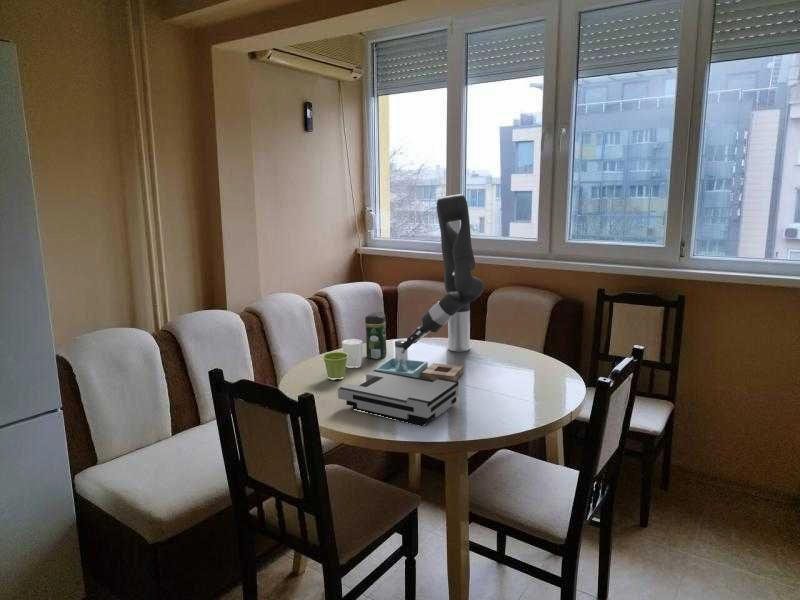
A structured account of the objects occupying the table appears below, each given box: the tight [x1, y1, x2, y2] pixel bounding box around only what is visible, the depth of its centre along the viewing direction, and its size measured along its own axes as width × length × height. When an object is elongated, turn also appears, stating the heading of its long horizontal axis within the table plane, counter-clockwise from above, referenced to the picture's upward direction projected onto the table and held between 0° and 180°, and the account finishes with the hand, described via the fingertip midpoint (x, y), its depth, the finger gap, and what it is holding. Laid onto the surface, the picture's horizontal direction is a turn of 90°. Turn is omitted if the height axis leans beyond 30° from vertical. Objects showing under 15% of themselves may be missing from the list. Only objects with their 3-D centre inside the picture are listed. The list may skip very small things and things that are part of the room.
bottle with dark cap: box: [394, 339, 409, 372], centre depth 203 cm, size 5×5×12 cm
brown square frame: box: [421, 362, 464, 381], centre depth 203 cm, size 12×12×2 cm
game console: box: [337, 370, 460, 427], centre depth 174 cm, size 21×32×8 cm, turn 59°
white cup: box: [341, 338, 363, 366], centre depth 216 cm, size 8×8×10 cm
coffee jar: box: [364, 311, 388, 359], centre depth 227 cm, size 10×8×19 cm
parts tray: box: [373, 357, 429, 378], centre depth 204 cm, size 15×15×4 cm
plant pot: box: [322, 351, 348, 378], centre depth 202 cm, size 9×9×9 cm
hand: (408, 344), depth 201 cm, fingers open, 8 cm apart
